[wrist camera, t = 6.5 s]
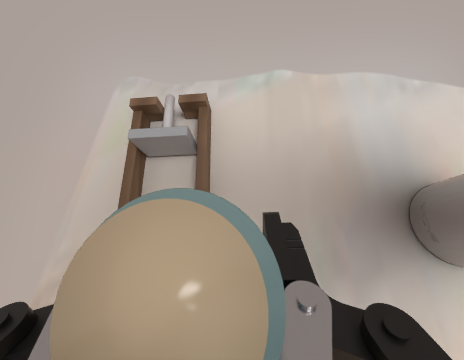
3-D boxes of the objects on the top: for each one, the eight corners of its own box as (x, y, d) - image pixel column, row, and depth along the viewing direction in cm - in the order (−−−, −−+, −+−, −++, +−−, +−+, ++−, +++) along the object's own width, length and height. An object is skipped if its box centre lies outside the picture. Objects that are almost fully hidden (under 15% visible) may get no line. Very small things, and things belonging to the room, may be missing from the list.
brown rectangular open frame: (211, 110, 30) (206, 93, 26) (209, 219, 25) (202, 214, 21) (143, 115, 30) (130, 98, 27) (128, 221, 25) (109, 217, 22)
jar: (259, 222, 14) (277, 175, 4) (264, 304, 12) (311, 512, 3) (189, 224, 14) (64, 186, 5) (186, 304, 13) (-9, 486, 3)
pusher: (199, 107, 30) (190, 81, 25) (197, 154, 27) (186, 135, 23) (153, 110, 30) (136, 85, 25) (148, 156, 28) (127, 138, 23)
